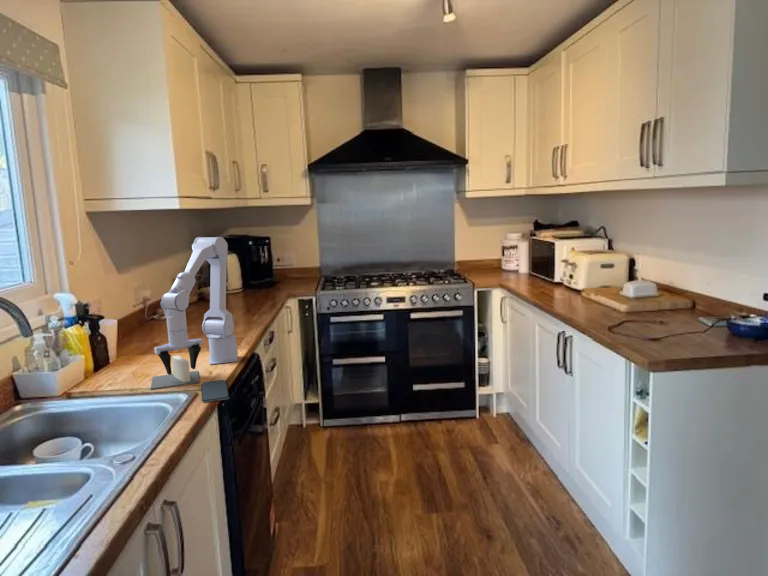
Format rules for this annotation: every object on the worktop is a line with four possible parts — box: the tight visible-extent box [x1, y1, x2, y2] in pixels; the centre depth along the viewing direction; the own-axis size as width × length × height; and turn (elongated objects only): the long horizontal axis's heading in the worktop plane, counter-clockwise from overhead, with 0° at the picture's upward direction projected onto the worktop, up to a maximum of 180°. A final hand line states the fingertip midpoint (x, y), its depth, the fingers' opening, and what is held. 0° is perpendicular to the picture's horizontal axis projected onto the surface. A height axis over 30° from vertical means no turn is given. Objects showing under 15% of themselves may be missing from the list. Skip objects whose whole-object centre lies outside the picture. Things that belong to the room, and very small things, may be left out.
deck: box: [171, 355, 191, 382], centre depth 171 cm, size 2×9×6 cm, turn 41°
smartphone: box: [200, 379, 230, 404], centre depth 159 cm, size 8×2×15 cm
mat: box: [150, 370, 200, 390], centre depth 171 cm, size 14×12×1 cm
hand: (181, 371), depth 171 cm, fingers open, 7 cm apart
